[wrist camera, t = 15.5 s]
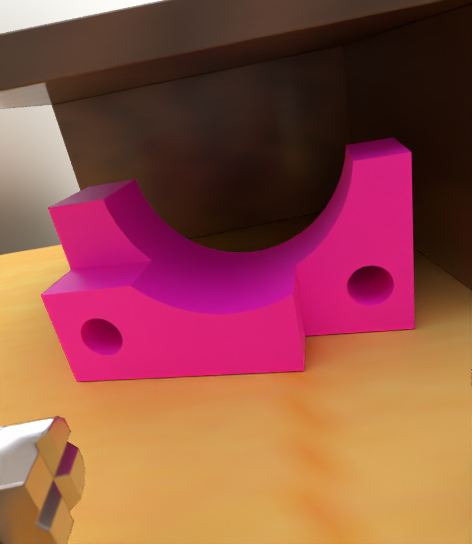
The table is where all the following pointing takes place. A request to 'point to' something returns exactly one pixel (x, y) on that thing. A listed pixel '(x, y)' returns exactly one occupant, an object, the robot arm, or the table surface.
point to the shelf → (260, 106)
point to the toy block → (231, 280)
